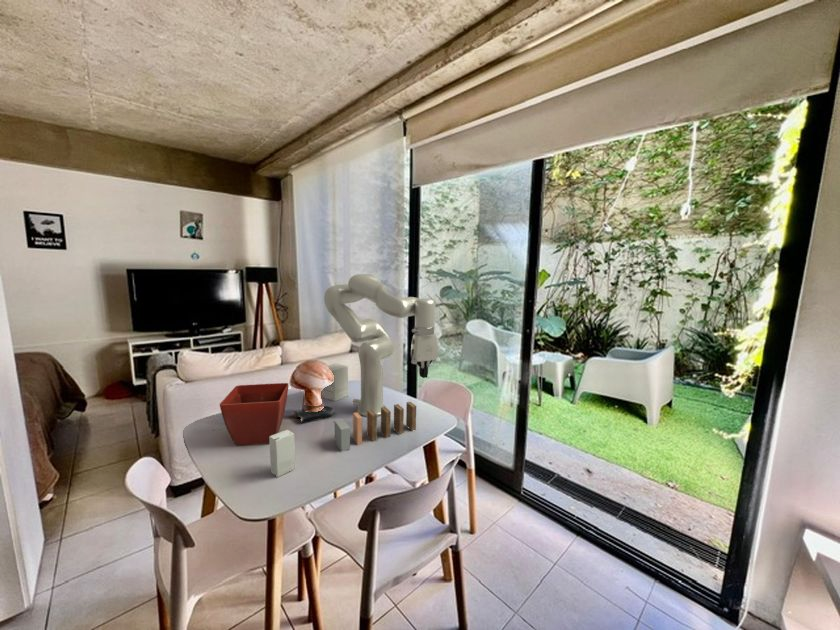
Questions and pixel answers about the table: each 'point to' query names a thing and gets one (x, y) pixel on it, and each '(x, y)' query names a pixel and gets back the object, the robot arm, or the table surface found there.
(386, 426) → the domino
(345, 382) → the supplement box
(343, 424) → the block
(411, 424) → the domino
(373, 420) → the domino
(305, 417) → the electronic device
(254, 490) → the table surface
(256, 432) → the plant pot
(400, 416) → the domino
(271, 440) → the skincare box
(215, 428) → the table surface
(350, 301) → the robot arm
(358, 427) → the domino end
